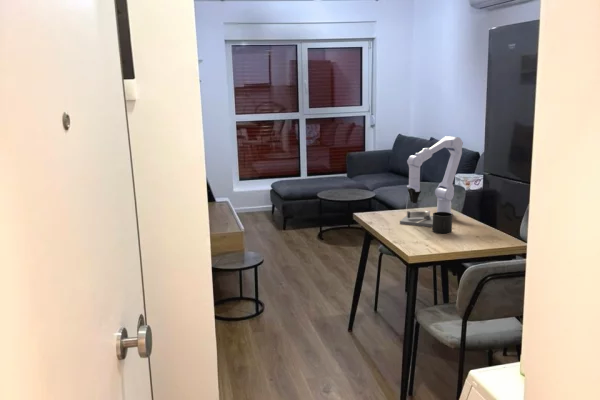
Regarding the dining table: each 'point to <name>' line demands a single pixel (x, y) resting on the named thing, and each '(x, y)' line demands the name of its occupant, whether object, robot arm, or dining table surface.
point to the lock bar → (418, 214)
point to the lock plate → (418, 221)
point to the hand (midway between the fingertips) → (413, 202)
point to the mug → (442, 222)
